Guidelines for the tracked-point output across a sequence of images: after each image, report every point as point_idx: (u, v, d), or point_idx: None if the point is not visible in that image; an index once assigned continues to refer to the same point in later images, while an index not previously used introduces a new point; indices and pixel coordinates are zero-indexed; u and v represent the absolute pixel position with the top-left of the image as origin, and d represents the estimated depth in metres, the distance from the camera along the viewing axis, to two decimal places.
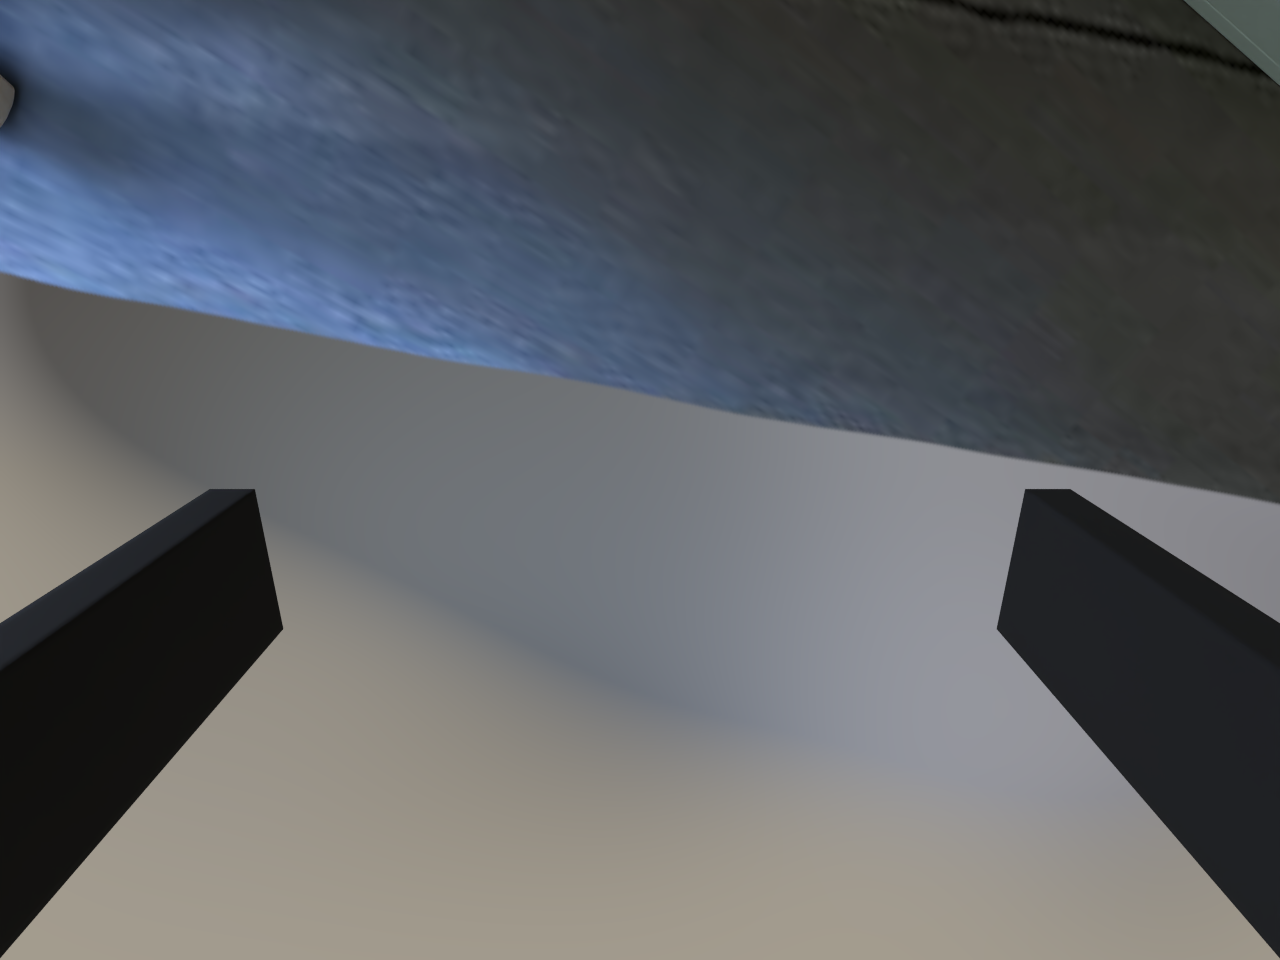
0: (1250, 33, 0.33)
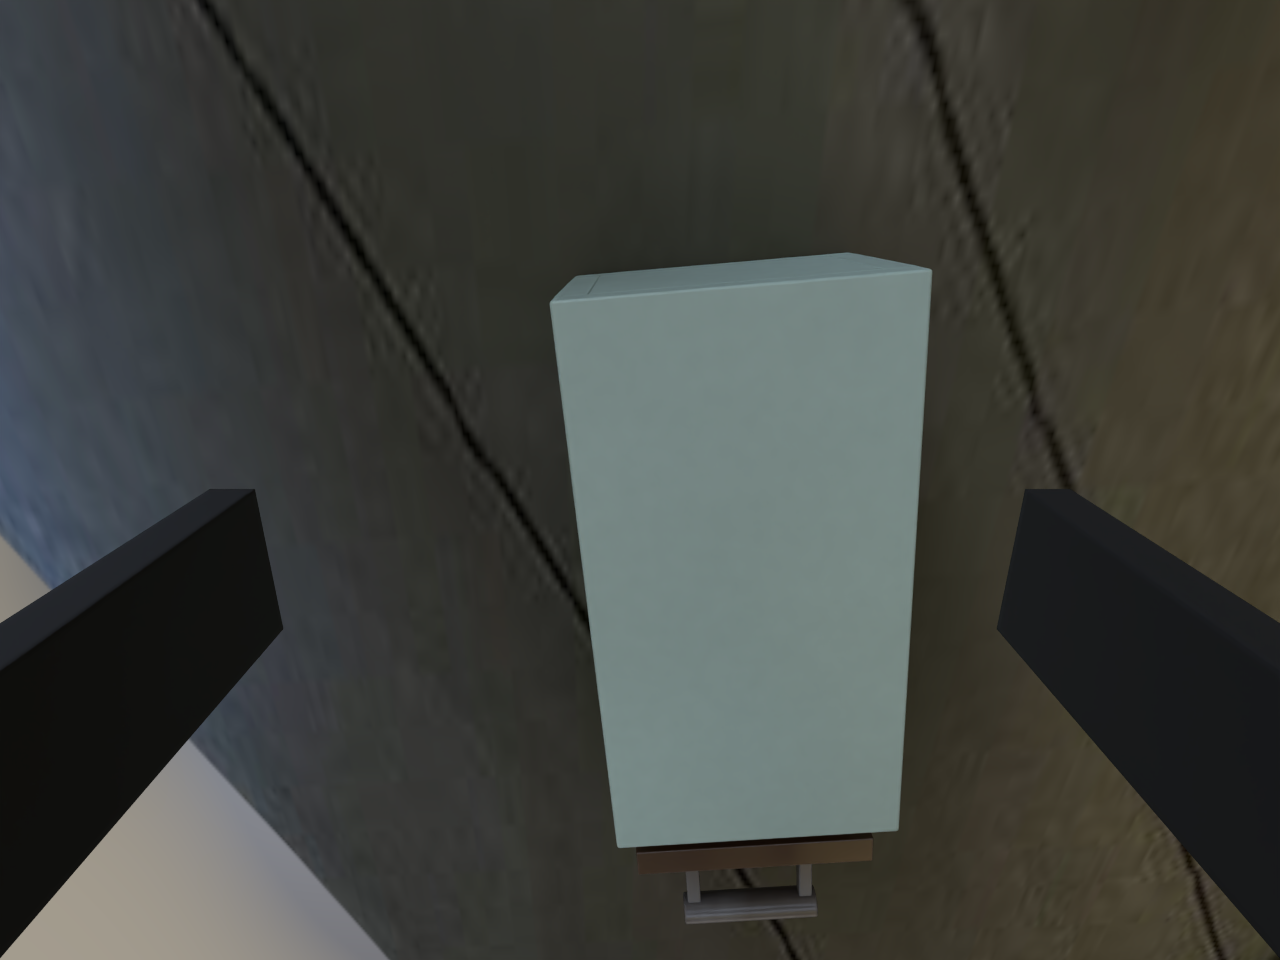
0: None
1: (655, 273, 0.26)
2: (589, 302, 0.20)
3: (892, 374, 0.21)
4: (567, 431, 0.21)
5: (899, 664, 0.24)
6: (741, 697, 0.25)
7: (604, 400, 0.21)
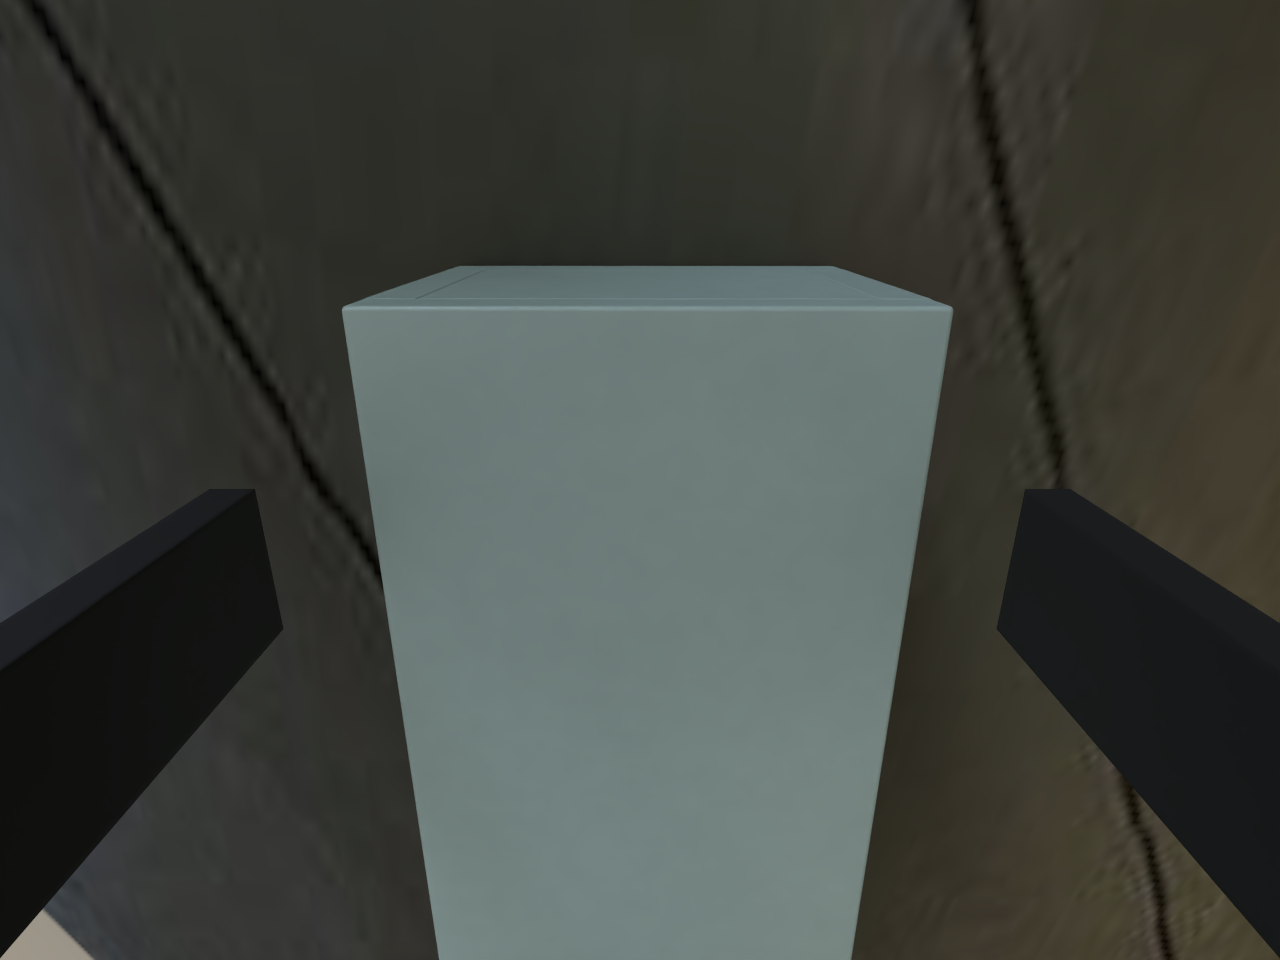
0: None
1: (558, 272, 0.18)
2: (404, 313, 0.12)
3: (877, 463, 0.13)
4: (373, 507, 0.14)
5: (854, 859, 0.17)
6: (628, 886, 0.17)
7: (430, 466, 0.13)
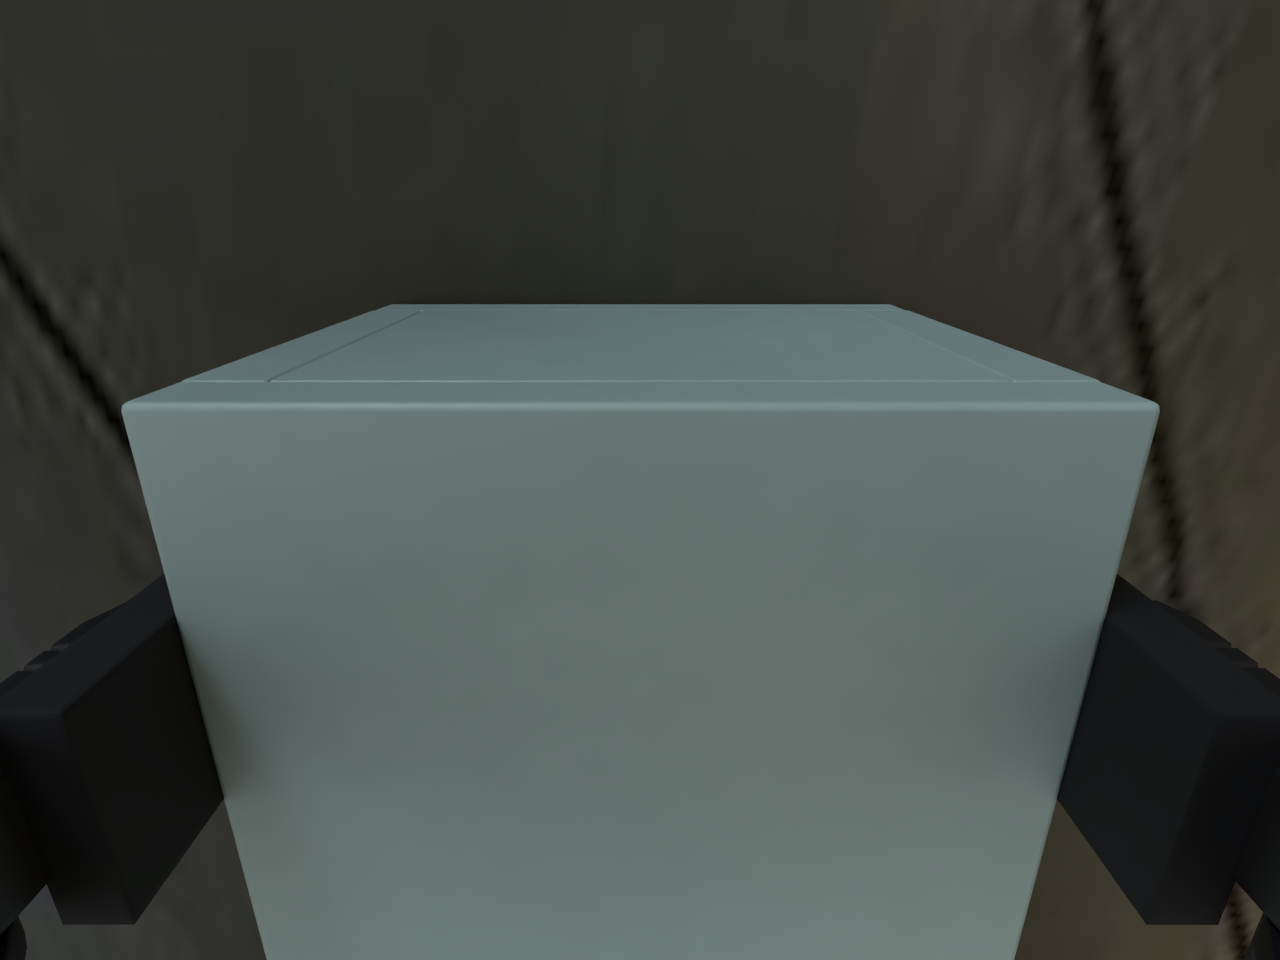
0: None
1: (519, 317, 0.13)
2: (228, 415, 0.07)
3: (1015, 646, 0.08)
4: (202, 711, 0.09)
5: None
6: None
7: (290, 651, 0.08)
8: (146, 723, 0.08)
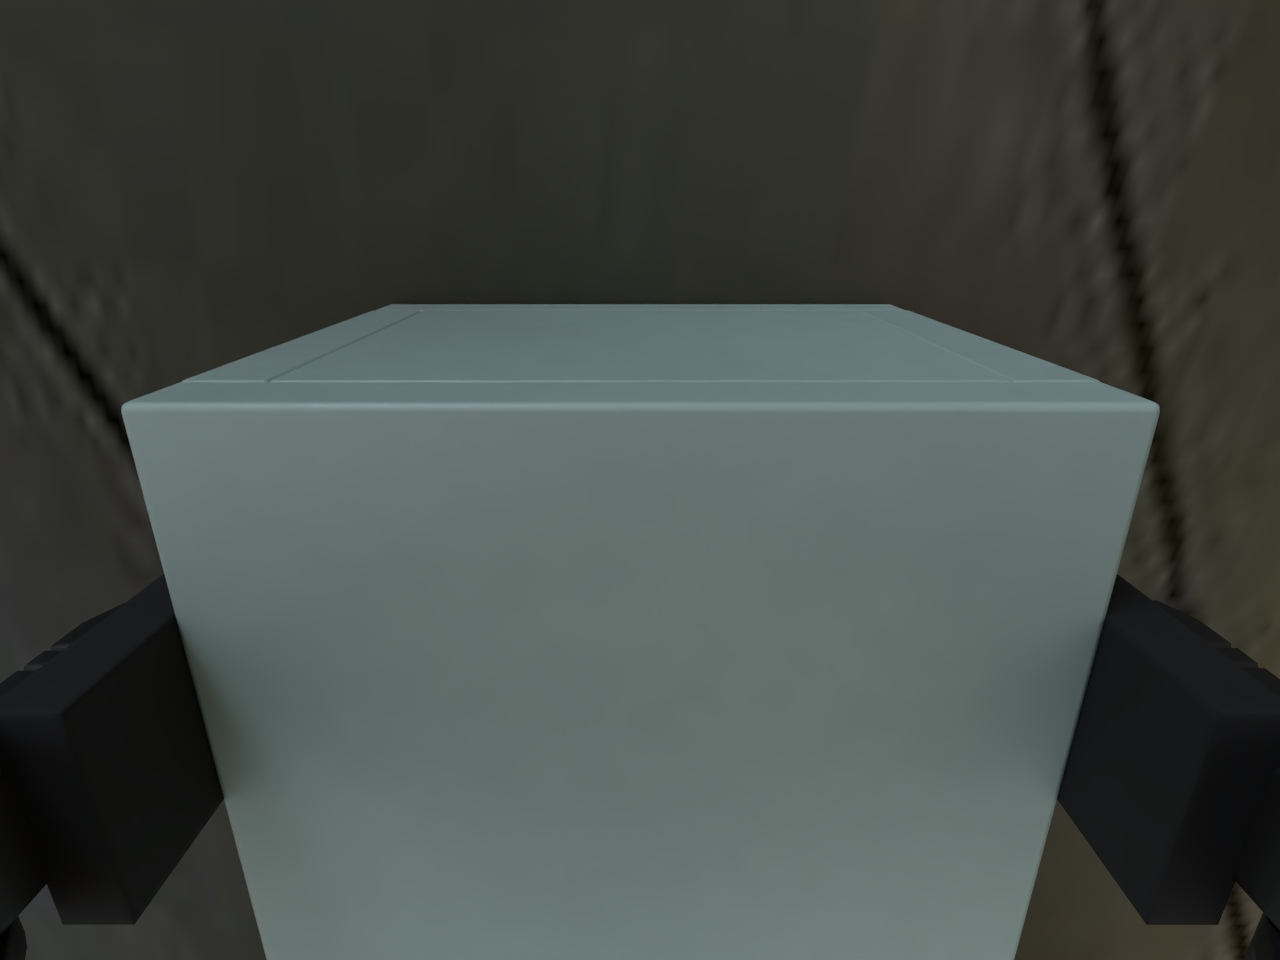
0: None
1: (519, 318, 0.13)
2: (228, 415, 0.07)
3: (1015, 646, 0.08)
4: (203, 712, 0.09)
5: None
6: None
7: (290, 651, 0.08)
8: (147, 722, 0.08)
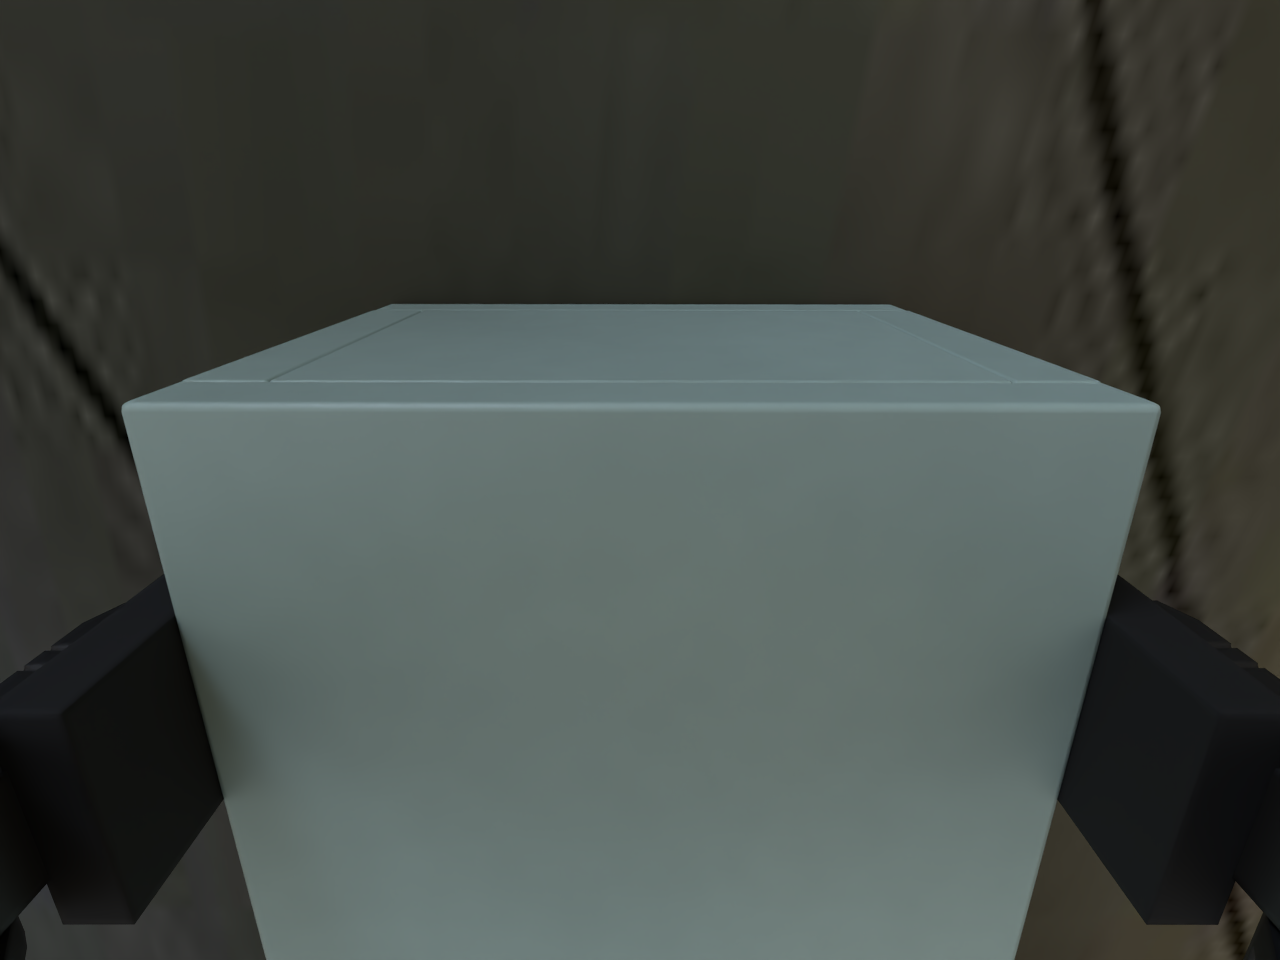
0: None
1: (519, 318, 0.13)
2: (228, 415, 0.07)
3: (1015, 647, 0.08)
4: (202, 711, 0.09)
5: None
6: None
7: (290, 651, 0.08)
8: (147, 722, 0.08)
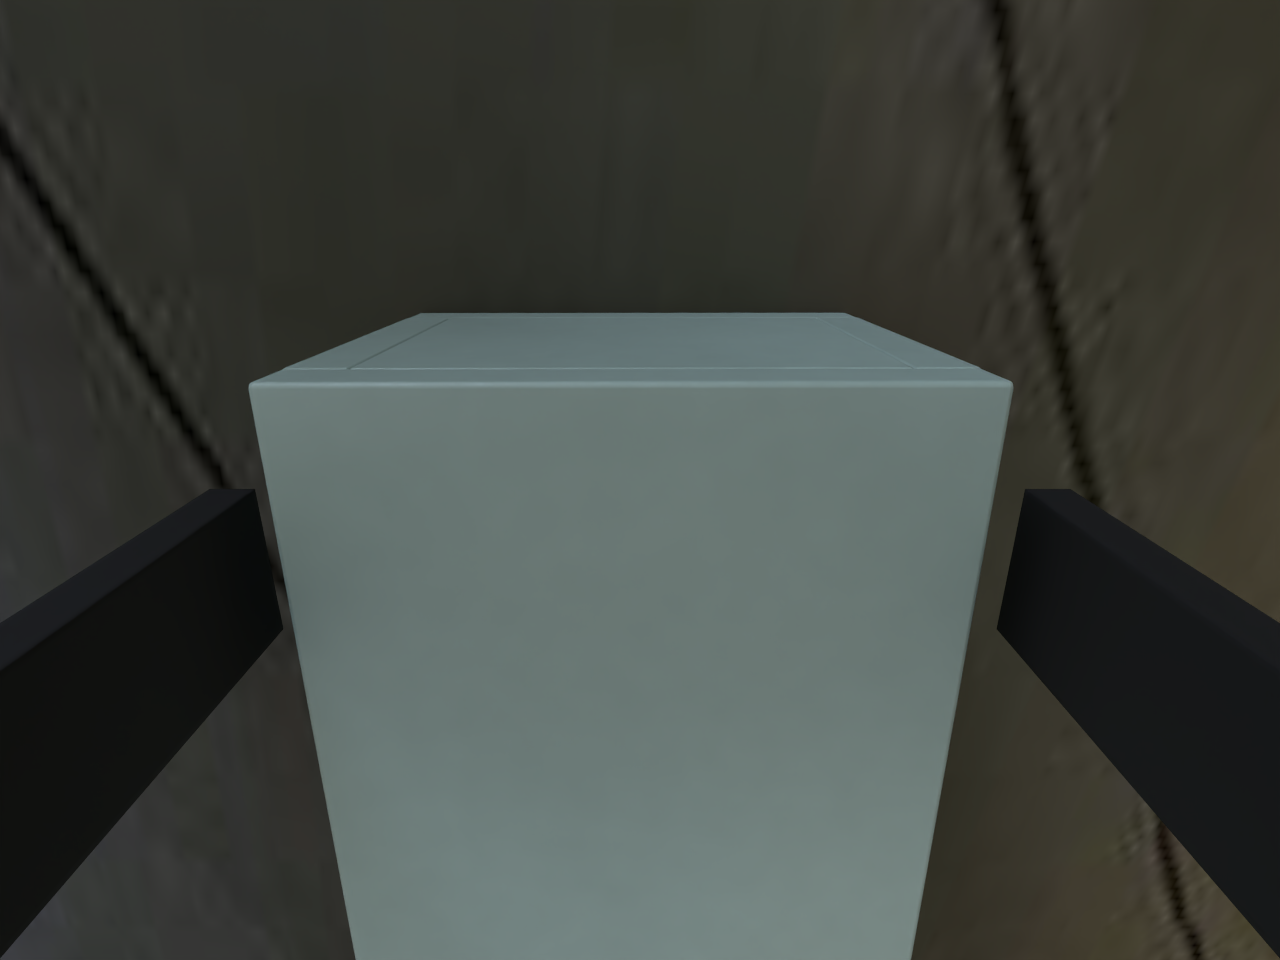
0: None
1: (532, 323, 0.16)
2: (327, 391, 0.10)
3: (918, 569, 0.11)
4: (294, 625, 0.11)
5: None
6: None
7: (364, 575, 0.11)
8: None
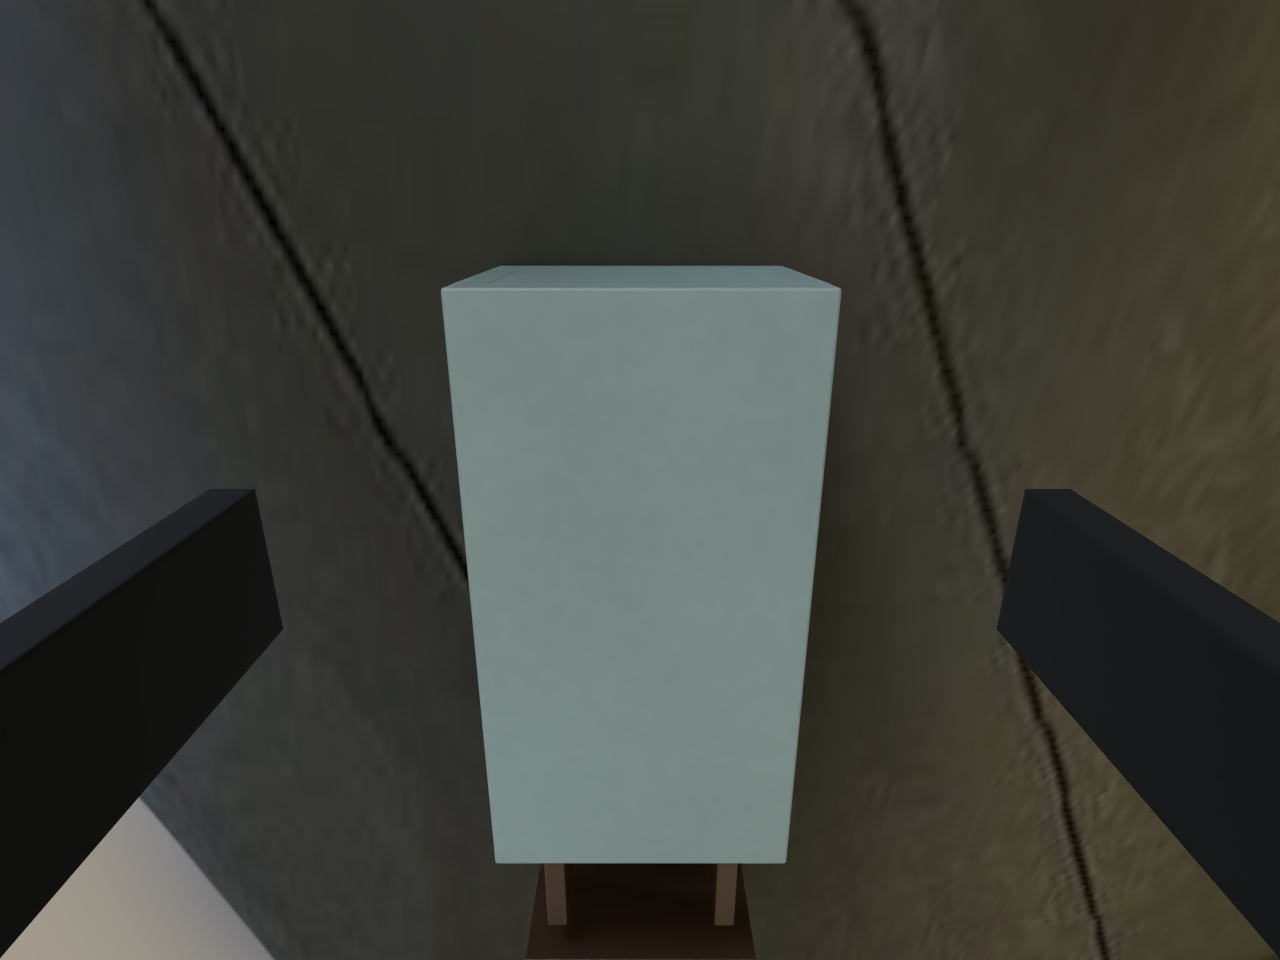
0: None
1: (576, 270, 0.25)
2: (482, 292, 0.19)
3: (796, 394, 0.20)
4: (455, 426, 0.20)
5: (792, 693, 0.23)
6: (629, 716, 0.24)
7: (495, 397, 0.20)
8: None
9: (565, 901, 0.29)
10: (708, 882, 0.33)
